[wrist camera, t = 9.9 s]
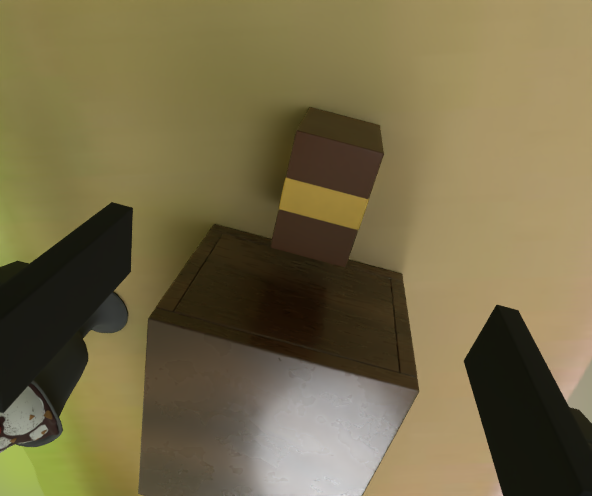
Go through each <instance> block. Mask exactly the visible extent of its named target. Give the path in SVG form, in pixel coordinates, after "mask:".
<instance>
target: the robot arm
mask: <svg viewBox="0 0 592 496" xmlns="http://www.w3.org/2000/svg"><path fill="white" fill-rule="evenodd" d="M132 215H133V208H132V207H128V206H124V205H120V204H117V203H113V202H111V203H110V204H109V205H107V206H106V207H105V208H103V209H102V210H101V211H99V212H98V213H97V214H95V215H94V216H93V217H91V218H90V219H89V220H87V221H86V222H85V223H83V224H82V225H81V226H79V227H78V228H77V229H75V230H74V231H73V232H71V233H70V234H69V235H67V236H66V237H65V238H63V239H62V240H61V241H59V242H58V243H57V244H55V245H54V246H53V247H51V248H50V249H49V250H47V251H46V252H45V253H43V254H42V255H41V256H39V257H38V258H37V259H35V260H34V261H33V262H31V263H30V264H28V263H24V262H21V261H16V262H13V263H10V264H8V265H5V266H2V267H0V413H4V412H5V411H6V410H7V409H8V408H9V407H10V406H11V405H12V403H13V402H14V401H15V400H16V399H17V398H18V397H19V396H20V395H21V393H22V392H23V391H24V390H25V389H26V388H27V387H28V386H29V384H30V383H31V382H32V381H33V380H34V379H35V378H36V377H37V376H38V374H39V373H40V372H41V371H42V370H43V369H44V368H45V367H46V366H47V364H48V363H49V362H50V361H51V360H52V359H53V358H54V357H55V356H56V354H57V353H58V352H59V351H60V350H61V349H62V348H63V347H64V346H65V344H66V343H67V342H68V341H69V340H70V339H71V338H72V337H73V336H74V334H75V333H76V332H77V331H78V330H79V329H80V328H81V327H82V325H83V324H84V323H85V322H86V321H87V320H88V319H89V318H90V317H91V315H92V314H93V313H94V312H95V311H96V310H97V309H98V308H99V307H100V305H101V304H102V303H103V302H104V301H105V300H106V299H107V298H108V297H109V295H110V294H111V293H112V292H113V291H114V290H115V289H116V288H117V287H118V285H119V284H120V283H121V282H122V281H123V280H124V279H125V278H126V276H127V275H128V274H129V273H130V272H131V248H132ZM464 363H465V367H466V370H467V374H468V377H469V381H470V384H471V387H472V391H473V394H474V398H475V401H476V404H477V408H478V411H479V415H480V418H481V422H482V425H483V428H484V432H485V435H486V439H487V442H488V445H489V449H490V452H491V456H492V459H493V463H494V466H495V469H496V473H497V476H498V480H499V483H500V486H501V490H502V493H503V496H592V423H591V422H590V421H589V420H588V419H587V418H586V417H585V416H584V415H583V414H582V412H581V411H580V410H577V409H574V408H570V407H569V406H568V404H567V402H566V400H565V399H564V397H563V395H562V393H561V391H560V389H559V387H558V385H557V383H556V381H555V380H554V378H553V376H552V374H551V372H550V370H549V368H548V366H547V364H546V362H545V361H544V359H543V357H542V355H541V353H540V351H539V349H538V347H537V345H536V343H535V342H534V340H533V338H532V336H531V334H530V332H529V330H528V328H527V326H526V324H525V322H524V321H523V319H522V317H521V315H520V313H519V311H518V310H515V309H511V308H507V307H504V306H500V305H496V307H495V308H494V310H493V312H492V313H491V315H490V317H489V319H488V320H487V322H486V324H485V325H484V327H483V329H482V331H481V332H480V334H479V336H478V337H477V339H476V341H475V342H474V344H473V346H472V348H471V349H470V351H469V353H468V354H467V356H466V358H465V360H464Z"/></svg>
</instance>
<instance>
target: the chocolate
mask: <svg viewBox="0 0 592 496" xmlns="http://www.w3.org/2000/svg"><path fill="white" fill-rule="evenodd" d="M383 155H384V151H383V144H382V137H381V130H380V126H379V125H376V124H372V123H369V122H365V121H361V120H357V119H353V118H350V117H346V116H342V115H338V114H334V113H331V112H327V111H323V110H319V109H315V108H312V107H309V109H308V111H307V113H306V114H305V116H304V118H303V120H302V122H301V123H300V125H299V127H298V129H297V131H296V134H295V138H294V143H293V147H292V152H291V156H290V161H289V165H288V170H287V174H286V177H285V181H284V186H283V190H282V195H281V199H280V204H279V210H278V215H277V219H276V224H275V228H274V232H273V237H272V241H271V248H274V249H278V250H281V251H285V252H289V253H293V254H296V255H300V256H304V257H308V258H311V259H315V260H319V261H323V262H327V263H330V264H334V265H338V266H342V267H346V264H347V261H348V259H349V256H350V253H351V250H352V247H353V244H354V241H355V238H356V235H357V232H358V229H359V228H360V225H361V222H362V219H363V216H364V213H365V210H366V207H367V204H368V201H369V197H370V194H371V191H372V188H373V185H374V182H375V179H376V176H377V173H378V170H379V167H380V164H381V161H382V158H383Z"/></svg>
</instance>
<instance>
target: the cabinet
mask: <svg viewBox="0 0 592 496" xmlns="http://www.w3.org/2000/svg"><path fill="white" fill-rule="evenodd" d="M271 241H272V239H268V238H265V237H261V236H257V235H253V234H250V233H246V232H242V231H238V230H234V229H231V228H227V227H223V226H219V225H216V224H214V225H213V226H212V227H211V229H210V230H209V232H208V233H207V235H206V236H205V237H204V239H203V240H202V242H201V243H200V245H199V246H198V247H197V249H196V250H195V252H194V253H193V255H192V256H191V257H190V259H189V260H188V262H187V263H186V265H185V266H184V268H183V269H182V270H181V272H180V273H179V275H178V276H177V278H176V279H175V280H174V282H173V283H172V285H171V286H170V288H169V289H168V290H167V292H166V293H165V295H164V296H163V298H162V299H161V300H160V302H159V303H158V305H157V306H156V308H155V310H154V311H153V312H152V314H151V315H150V317H149V318H148V331H147V348H146V366H145V384H144V402H143V419H142V437H141V455H140V473H139V490H138V494H140V495H144V496H362V495H363V494H364V492H365V490H366V488H367V486H368V484H369V483H370V481H371V479H372V477H373V475H374V473H375V472H376V470H377V468H378V466H379V464H380V462H381V461H382V459H383V457H384V455H385V453H386V451H387V450H388V448H389V446H390V444H391V442H392V440H393V439H394V437H395V435H396V433H397V431H398V429H399V428H400V426H401V424H402V422H403V420H404V418H405V417H406V415H407V413H408V411H409V409H410V407H411V406H412V404H413V402H414V400H415V398H416V396H417V395H418V393H419V386H418V379H417V371H416V365H415V358H414V351H413V344H412V337H411V331H410V324H409V317H408V310H407V303H406V297H405V290H404V283H403V276H402V274H400V273H396V272H392V271H389V270H385V269H381V268H377V267H374V266H370V265H366V264H362V263H359V262H355V261H351V260H348V261H347V264H346V267H342V266H338V265H334V264H330V263H327V262H323V261H319V260H315V259H311V258H308V257H304V256H300V255H296V254H293V253H289V252H285V251H281V250H278V249H274V248H271Z"/></svg>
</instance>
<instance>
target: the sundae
mask: <svg viewBox="0 0 592 496" xmlns="http://www.w3.org/2000/svg"><path fill="white" fill-rule="evenodd" d="M127 318H128V314H127V310H126V308H125V305H124V303H123V302H122V301H121V299H120V298H119V297H118V296H117V295H116V294H115V293H113V292H112V293H111V294H110V295H109V297H108V298H107V299H106V300H105V301H104V302H103V303H102V304H101V305H100V307H99V308H98V309H97V310H96V311H95V312H94V313H93V314H92V315H91V317H90V318H89V319H88V320H87V321H86V322H85V323H84V324H83V325H82V327H81V328H80V329H79V330H78V331H77V332H76V333H75V334H74V336H73V337H72V338H71V339H70V340H69V341H68V342H67V343H66V344H65V346H64V347H63V348H62V349H61V350H60V351H59V352H58V353H57V354H56V356H55V357H54V358H53V359H52V360H51V361H50V362H49V363H48V364H47V366H46V367H45V368H44V369H43V370H42V371H41V372H40V373H39V374H38V376H37V377H36V378H35V379H34V380H33V381H32V382H31V383H30V384H29V386H28V387H27V388H26V389H25V390H24V391H23V392H22V393H21V395H20V396H19V397H18V398H17V399H16V400H15V401H14V402H13V403H12V405H11V406H10V407H9V408H8V409H7V410H6V411H5V412H4V413H0V453H1V452H2V451H4V450H5V449H7V448H8V447H10V446H12V445H14V444H16V445H19V446H25V447H38V446H42V445H45V444H48V443H50V442H52V441H54V440H55V439H56V438H58V437H59V436H60V435H61V433H62V431H63V428H62V424H61V421H60V419H59V416H60V414H61V412H62V410H63V408H64V405H65V403H66V401H67V399H68V398H69V396H70V394H71V393H72V391H73V389H74V387H75V386H76V384H77V382H78V381H79V379H80V377H81V375H82V373H83V371H84V369H85V367H86V365H87V362H88V352H87V347H86V344H85V342H84V340H83V338H84V337H85V336H86V334H87V333H88V332H89V331H90V330H93V331H96V332H100V333H114V332H117V331H119V330H121V329H122V328H123V327H124V326H125V325H126V323H127Z"/></svg>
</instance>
